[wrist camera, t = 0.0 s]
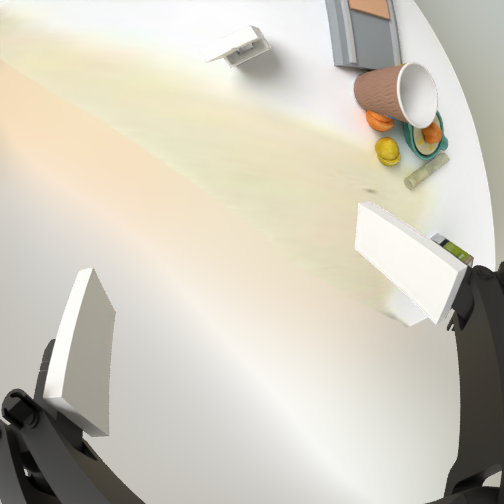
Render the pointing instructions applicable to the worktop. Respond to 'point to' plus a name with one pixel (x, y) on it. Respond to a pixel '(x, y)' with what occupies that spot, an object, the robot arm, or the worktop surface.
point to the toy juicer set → (412, 145)
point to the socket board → (363, 37)
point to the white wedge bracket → (236, 46)
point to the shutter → (371, 7)
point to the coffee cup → (399, 93)
